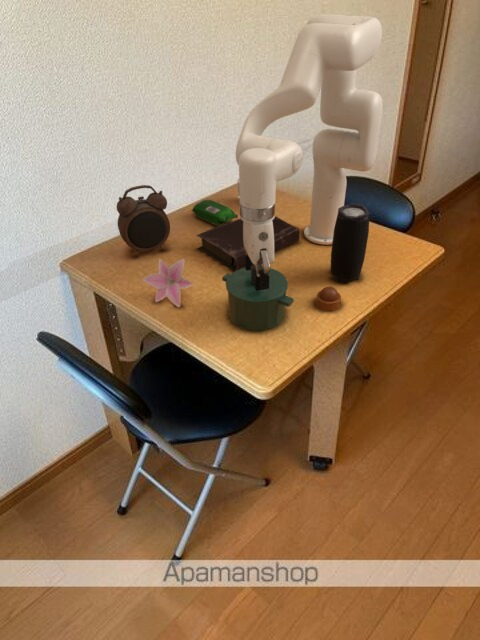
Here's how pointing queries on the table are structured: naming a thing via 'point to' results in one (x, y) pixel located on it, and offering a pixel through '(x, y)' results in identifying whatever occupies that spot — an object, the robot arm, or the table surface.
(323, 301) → the brown domed piece
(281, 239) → the diary
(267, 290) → the pot lid
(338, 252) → the portable speaker
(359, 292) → the table surface
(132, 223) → the alarm clock
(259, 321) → the pot
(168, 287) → the lily
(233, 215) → the snack package
